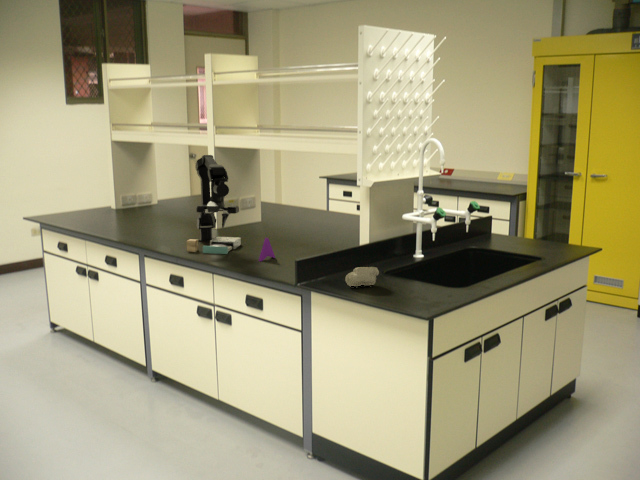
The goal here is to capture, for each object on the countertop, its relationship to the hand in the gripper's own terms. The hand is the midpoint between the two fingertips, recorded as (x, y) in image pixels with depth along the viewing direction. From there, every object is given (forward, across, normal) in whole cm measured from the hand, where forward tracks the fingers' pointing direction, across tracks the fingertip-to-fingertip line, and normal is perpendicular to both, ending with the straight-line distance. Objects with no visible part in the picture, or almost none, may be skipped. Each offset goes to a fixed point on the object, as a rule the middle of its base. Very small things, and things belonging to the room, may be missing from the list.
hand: (218, 227), depth 278 cm
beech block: (+11, -12, -2) cm, 16 cm away
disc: (+10, 0, 0) cm, 10 cm away
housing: (+11, 0, +10) cm, 15 cm away
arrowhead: (+11, +26, -12) cm, 31 cm away
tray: (+11, 0, 0) cm, 11 cm away
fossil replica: (+11, +71, -47) cm, 86 cm away
